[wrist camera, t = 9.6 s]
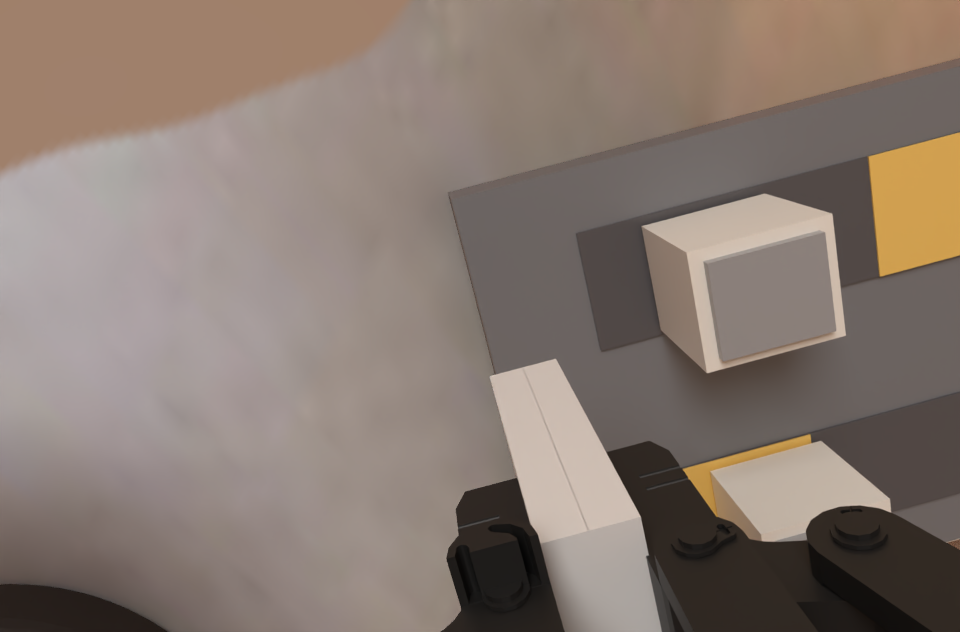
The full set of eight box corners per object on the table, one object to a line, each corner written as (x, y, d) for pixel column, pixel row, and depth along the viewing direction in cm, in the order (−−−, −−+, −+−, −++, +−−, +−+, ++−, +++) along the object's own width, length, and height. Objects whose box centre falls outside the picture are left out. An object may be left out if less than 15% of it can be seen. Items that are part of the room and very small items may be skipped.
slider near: (660, 330, 26) (711, 376, 21) (641, 226, 25) (690, 255, 20) (779, 298, 26) (851, 339, 22) (764, 193, 25) (838, 215, 20)
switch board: (560, 627, 31) (569, 659, 29) (448, 192, 26) (451, 200, 24) (1073, 485, 31) (1111, 508, 30) (1064, 30, 26) (1110, 27, 24)
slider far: (724, 555, 28) (780, 636, 24) (709, 471, 27) (765, 539, 23) (831, 526, 28) (905, 601, 24) (820, 440, 27) (895, 503, 23)
